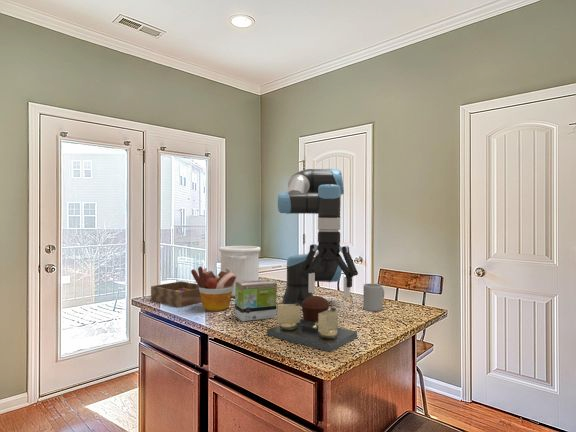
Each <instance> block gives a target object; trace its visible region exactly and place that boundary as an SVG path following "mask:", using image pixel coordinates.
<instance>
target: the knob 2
mask: <svg viewBox="0 0 576 432" xmlns="http://www.w3.org/2000/svg"><path fill="white" fill-rule="evenodd" d="M336 328H339V309H337V308H336V307H331V308H328V310H326V311H324V312H321V313H318V332H319V336H320V337H322V338H327V339H332V338H336V337H337V329H336Z"/></svg>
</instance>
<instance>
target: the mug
mask: <svg viewBox="0 0 576 432" xmlns="http://www.w3.org/2000/svg"><path fill="white" fill-rule="evenodd" d="M384 298H385V289H384V288H383V284H380V283H363V299H362V300H363V301H362V302H363V303H362V304H363V310H364V311H367V312H381V311H382V310H383V301H384Z"/></svg>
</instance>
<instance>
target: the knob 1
mask: <svg viewBox="0 0 576 432" xmlns="http://www.w3.org/2000/svg"><path fill="white" fill-rule="evenodd" d="M300 319H301V306H300V305H299V303H296V304H284V303H278V304H276V323H277V324H279V325H280V328H281V329H284V330H293V329H296V328H297V323H300Z"/></svg>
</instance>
